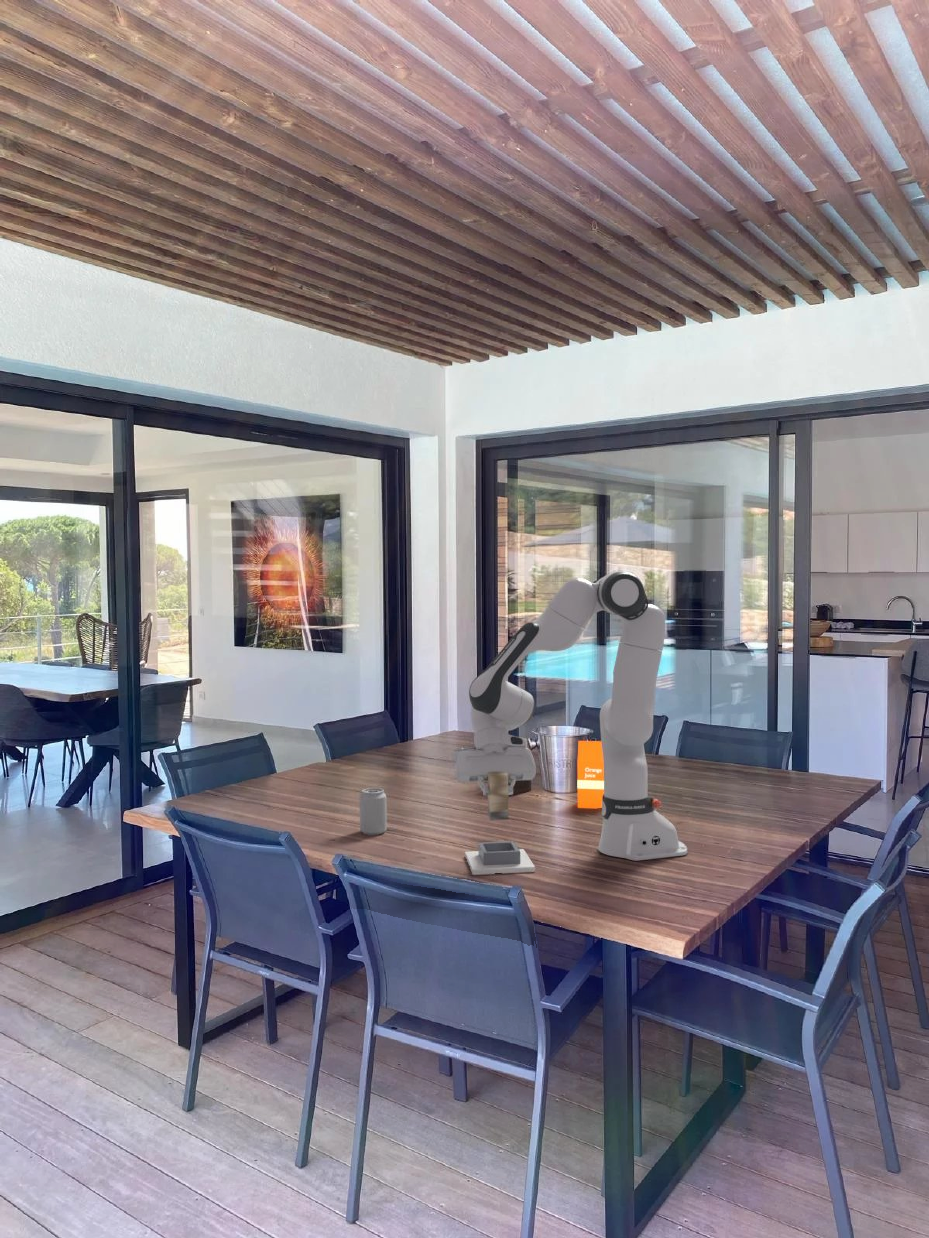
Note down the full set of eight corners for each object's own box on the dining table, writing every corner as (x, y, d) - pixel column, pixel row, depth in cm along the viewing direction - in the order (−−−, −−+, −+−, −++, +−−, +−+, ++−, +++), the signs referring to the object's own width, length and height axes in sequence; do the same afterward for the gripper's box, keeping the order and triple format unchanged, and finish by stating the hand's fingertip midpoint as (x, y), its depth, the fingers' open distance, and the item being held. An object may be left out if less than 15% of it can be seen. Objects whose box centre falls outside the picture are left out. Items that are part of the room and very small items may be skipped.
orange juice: (606, 808, 281) (606, 743, 281) (577, 807, 283) (577, 742, 282) (607, 802, 289) (607, 739, 288) (579, 801, 291) (579, 738, 290)
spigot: (505, 814, 230) (505, 771, 229) (508, 819, 226) (508, 774, 225) (487, 815, 229) (487, 771, 229) (490, 820, 225) (490, 775, 225)
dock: (523, 853, 236) (523, 837, 236) (535, 871, 221) (534, 854, 221) (465, 856, 234) (465, 839, 234) (472, 874, 220) (472, 857, 219)
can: (387, 828, 262) (387, 786, 261) (386, 835, 254) (385, 792, 254) (361, 829, 262) (360, 787, 261) (359, 836, 254) (358, 793, 254)
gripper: (452, 741, 232) (457, 788, 223) (532, 738, 235) (540, 785, 226) (450, 755, 237) (455, 802, 228) (529, 753, 239) (537, 799, 230)
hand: (498, 793), depth 227 cm, fingers closed on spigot, 4 cm apart
